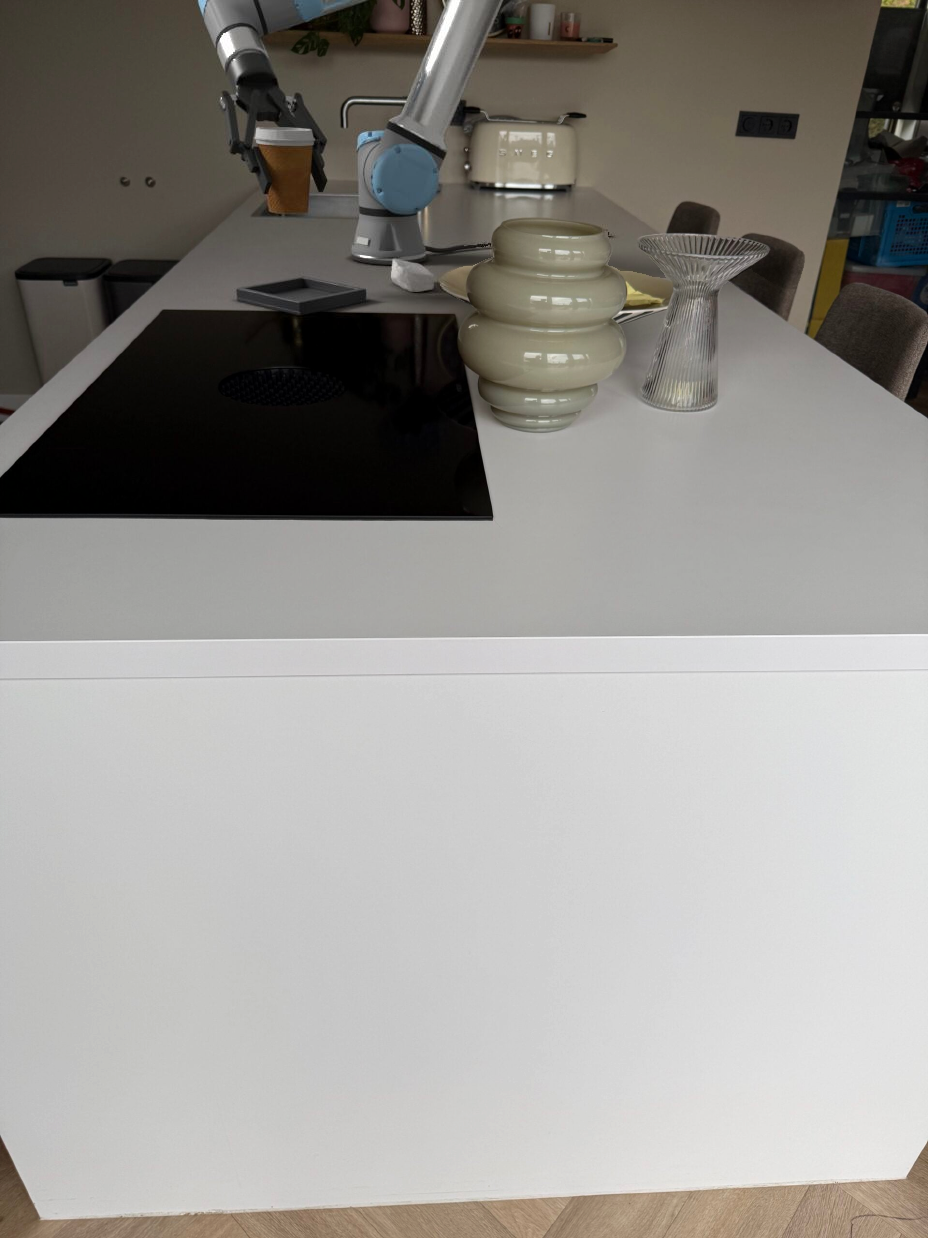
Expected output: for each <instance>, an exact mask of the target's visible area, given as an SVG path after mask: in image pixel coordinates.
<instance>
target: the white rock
mask: <svg viewBox="0 0 928 1238" xmlns="http://www.w3.org/2000/svg"><path fill="white" fill-rule="evenodd" d="M390 277H391V281H392V283H394V284H395V285H396V286H398V287H400V288H402V289H403V290H406V291H408V292H411V293H418V292H424V291H430V290H434V287H435V275H434V273H432V272H431V271H430V270H429V269H427V268H426V267H424V266H423V265H422V264H421V263H412V262H407V261H403V260H399V259H393V262H392V265H391V271H390Z"/></svg>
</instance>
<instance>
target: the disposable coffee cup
mask: <svg viewBox="0 0 928 1238" xmlns="http://www.w3.org/2000/svg"><path fill="white" fill-rule="evenodd" d="M253 140H255V144H257V147H258V148H259V151H260V153H261V156H262V158H263V161H264V163H265V166H266V168H267V171H268V173H269V176H270V178H271V181H272V183H271V186H270V189H269V192H268V194H265V195H266V201H267V207H268V212H270V213H273V214H279V215H302V214H307V213H309V203H310V190H311V189H310V187H311V176H312V175H311V161H312V146H313V145H314V141H315V138H313V133H312V130H311V129H304V128H289V127H278V126H260V127H259V126H258V127H255V134H254V137H253Z"/></svg>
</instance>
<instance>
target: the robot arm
mask: <svg viewBox="0 0 928 1238" xmlns="http://www.w3.org/2000/svg"><path fill="white" fill-rule="evenodd" d="M367 1H368V0H197V2H198V3H197V4H198V6H199V9H200V12H201V15H202V18H203V22H204V24H205V27H206V29H207V31H208V34H209V36H210V39H211V41H212V43H213V46H214V48H215V51H216V53H217V56H218V58H219V60H220V61H219V62H220V63H221V66H222V68H223V71H224V73H225V75H226V78H227V82H228V84H229V87H230V89H231V91H232V94H230V93H229V92H228V91H227V90H222V91H221V94H220V99H219V103H218V107H219V108H220V110H221V112H222V114H223V117H224V124H225V132H226V138H227V144H228V145H227V146H228V152H229V154H231V155H233V156H234V155H235V156H236V155H237V154H239V155H240V160H241V161H242V162H245V163H246V166H247V169H248V171H249V172H250V173H251V174H255V176H256V179H257V181H258V184H259V187H260V189H261V191H262V194H263V195H266V194H268V192H269V189H270V186H271V183H272V181H271V178H270V176H269V173H268V171H267V168H266V166H265V163H264V161H263V158H262V156H261V153H260V151H259V148H258V146H253V143H254V142H253V141H254V136H255V131H256V125H257V124H256V123H257V122H266V121H267V122H272V123H274V124H275V125H276V127H289V128H304V129H311V130H312V133H313V138H315V141H314V145H313V146H312V161H311V175H310V176H311V177H312V179H313V181H314V185H315V187H316V189H317V192H318V193H324V192H325V191H324V190H325V189H326V186H327V183H328V182H329V181H328V178H327V175H326V173H325V171H324V168H325V160H324V158H323V155H322V154H323V153H324V151H325V149H326V146H327V143H328V139H327V137H326V136H325V135H324V133H323V131H322V130H321V128H320V126H319V125H318V123H317V122H316V121H315V119H314V117H313V115H312V114H311V113H310V112H309V110H308V108H307V107H306V105H305V102H304V99H303V96H302V94H301V93H299V92H294V95H286V93H285V92H284V91H283V90H282V89H281V88H280V85H279V81H278V76H277V75H276V72H275V70H274V67H273V65H272V62H271V60H270V58H269V54H268V52H267V50H266V47H265V45H264V43H263V40H262V37H264V36H268V35H269V34H273V33H275V32H278V31H285V30H289V29H290V28H292V27H294V26H297V25H300V24H303V23H308V22H311V21H312V20H314V19H317V18H321V17H322V16H326V15H328V14H332V13H334V12H337V11H341V10H344V9H347V8H350V7H352V6H355V5H358V4H361V3H365V2H367ZM503 2H504V0H446V2H445V6H444V7H443V10H442V12H441V15H440V16H439V17H440V18H439V20H438V23H437V25H436V28H435V30H434V31H433V35H432V37H431V40H430V42H429V44H428V46H427V50H426V52H425V54H424V57H423V59H422V62H421V64H420V66H419V69H418V72H417V74H416V76H415V79H414V82H413V83H412V85H411V88H410V91H409V93H408V96H407V98H406V100H405V104H404V105H403V108H402V111H401V113H400V114H399V115H396V116H394V117H392V118H389V119H388V122H387V124H386V127H385V128H384V130H373V131H372V130H371V131H370V130H369V131H363V132H362V133H360V134H359V135H358V137H357V146H356V149H355V151H356V155H357V181H358V183H357V184H358V215H359V216H358V221H357V222H358V223H357V226H356V229H355V235H354V239H353V242H352V244H351V250H350V254H351V255H350V256H351V259H352V260H353V261H356V262H359V263H363V264H369V265H370V264H371V265H382V266H392V262H393V259H399V260H403V261H407V262H412V263H417V264H421V263H423V262H424V261H426V260H427V252H429V253H434V254H446V253H451V252H457V251H463V250H470V249H477V248H476V247H482V248H487V247H486V246H488V245H490V247H489V248H491V243H490V242H491V241H488V242H489V243H488V244H477V245H467V244H468V243H465V244H459V245H453V246H449V247H439V248H438V247H433V246H428V245H425V244H424V241H423V236H422V232H421V228H420V224H419V219H418V213H419V212H421V211H423V210H424V209H426V208H427V207H428V206H429V205H430V204H431V203H432V202H433V200H434V198H435V196H436V195H437V192H438V188H439V183H440V170H441V167H442V165H443V162H444V160H445V158H446V156H447V154H448V148H447V145H446V142H445V137H446V134H447V132H448V130H449V127H450V125H451V123H452V120H453V118H454V116H455V114H456V111H457V108H458V107H459V104H460V102H461V100H462V97H463V95H464V92H465V90H466V88H467V85H468V84H469V81H470V79H471V77H472V74H473V71H474V69H475V67H476V65H477V62H478V60H479V58H480V56H481V53H482V51H483V48H484V46H485V44H486V41H487V39H488V37H489V35H490V32H491V30H492V27H493V26H494V23H495V20H496V18H497V16H498V14H499V11H500V9H501V6H502V4H503ZM236 106H237V107H239V108H240V109H241V110H242V111H243V112H244V113H246V121H245V128H244V134H243V140H240V132H239V125H238V117H237V111H236ZM605 230H606V231H608V230H607V229H605ZM609 233H610V231H609V232H608V235H609ZM609 238H610V236H609ZM464 245H467V246H464ZM484 246H485V247H484Z"/></svg>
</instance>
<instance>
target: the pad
mask: <svg viewBox="0 0 928 1238" xmlns="http://www.w3.org/2000/svg"><path fill="white" fill-rule="evenodd" d="M235 291H236V300H237V302H240V303H246V304H250V305H254V306H258V307H262V308H266V309H271V310H273V311H279V312H284V313H287V314H291V315H296V316H300V317H301V316H306V315H310V314H314V313H319V312H324V311H329V310H333V309H338V308H341V307H346V306H347V307H348V306H351V305H357V304H361V303H366V302H367V289H366V288H363V287H360V286H359V287H358V286H352V285H348V284H344V283H339V282H333V281H329V280H324V279H318V278H314V277H308V276H306V275H305V276H304V275H303V276H297V277H296V276H295V277H293V278H292V277H291V278H286V279H285V278H284V279H279V280H274V281H269V282H263V283H258V284H252V285H245V286H240V287H236V288H235Z"/></svg>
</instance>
